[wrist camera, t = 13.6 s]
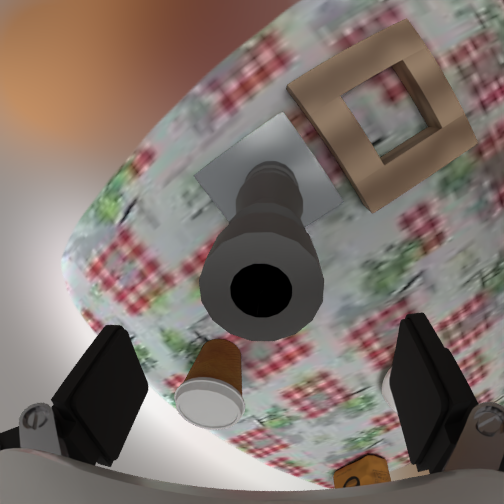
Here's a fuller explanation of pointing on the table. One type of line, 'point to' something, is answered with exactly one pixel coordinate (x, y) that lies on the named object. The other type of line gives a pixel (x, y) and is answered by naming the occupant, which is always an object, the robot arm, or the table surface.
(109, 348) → the robot arm
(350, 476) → the coffee package
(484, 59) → the table surface
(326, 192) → the metal tile
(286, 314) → the candle holder
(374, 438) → the table surface
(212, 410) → the disposable coffee cup
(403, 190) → the socket block
